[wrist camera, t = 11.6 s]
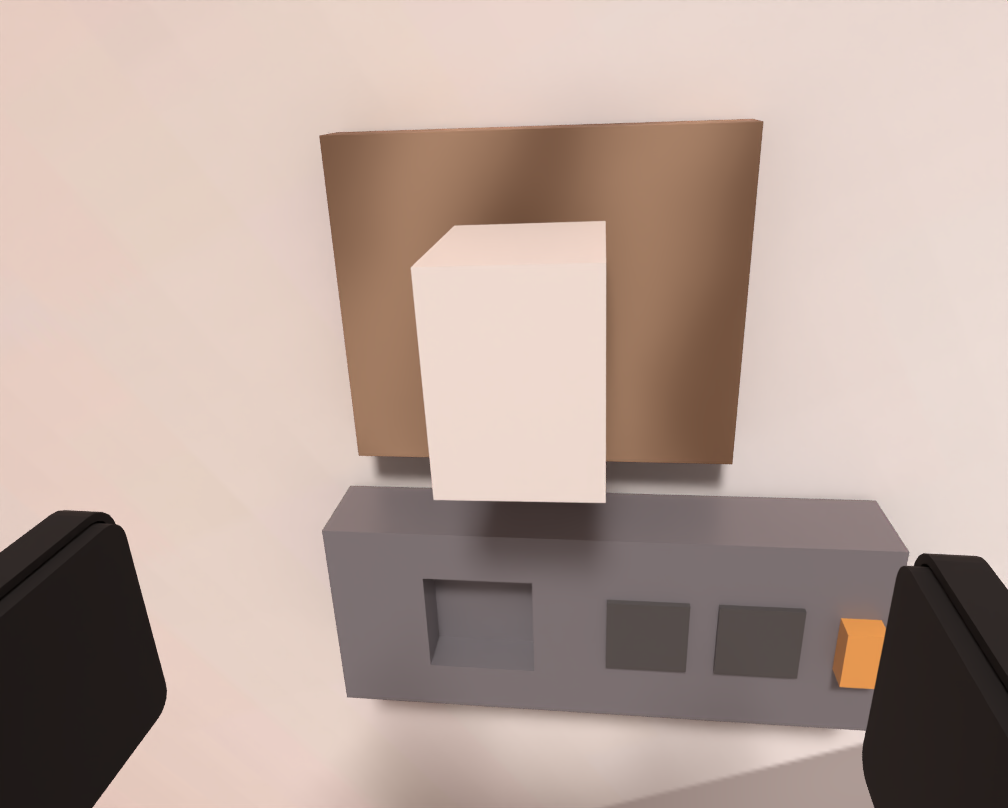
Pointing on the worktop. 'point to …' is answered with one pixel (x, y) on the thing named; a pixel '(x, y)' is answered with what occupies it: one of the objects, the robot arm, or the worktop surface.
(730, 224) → the pad
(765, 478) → the worktop surface
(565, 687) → the power strip
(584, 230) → the block
